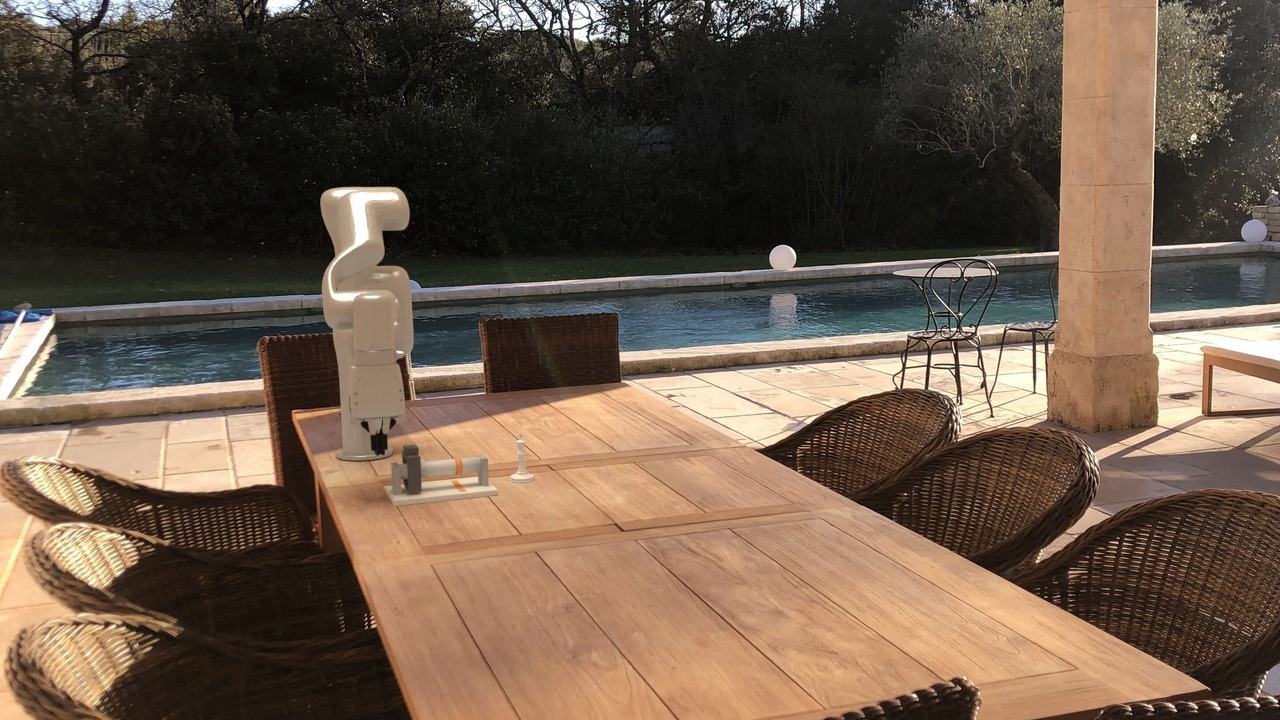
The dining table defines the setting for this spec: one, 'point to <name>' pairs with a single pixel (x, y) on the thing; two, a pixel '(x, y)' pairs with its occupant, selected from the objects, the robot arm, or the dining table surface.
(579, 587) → the dining table surface
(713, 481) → the dining table surface
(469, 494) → the rail
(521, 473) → the chess piece
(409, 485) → the dark grey notched block
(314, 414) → the dining table surface
